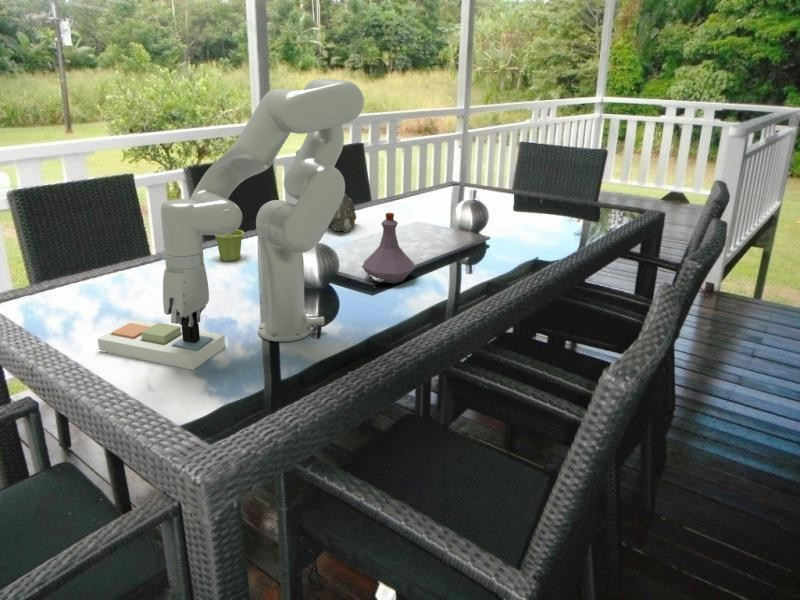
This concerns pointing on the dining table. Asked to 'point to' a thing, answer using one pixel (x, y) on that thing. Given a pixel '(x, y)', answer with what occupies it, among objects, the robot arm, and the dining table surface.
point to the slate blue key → (193, 346)
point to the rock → (344, 216)
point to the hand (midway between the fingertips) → (191, 340)
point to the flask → (389, 256)
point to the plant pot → (230, 245)
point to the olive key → (161, 333)
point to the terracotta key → (130, 331)
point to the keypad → (161, 348)
